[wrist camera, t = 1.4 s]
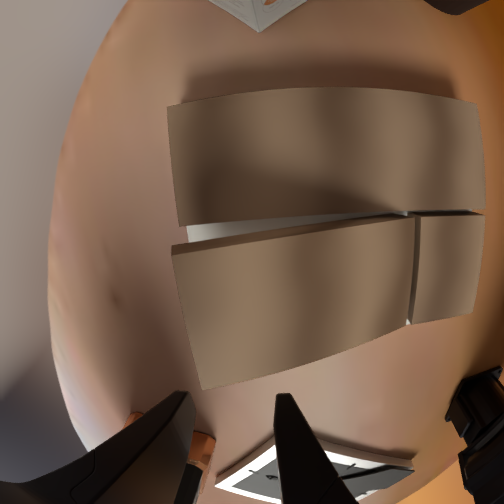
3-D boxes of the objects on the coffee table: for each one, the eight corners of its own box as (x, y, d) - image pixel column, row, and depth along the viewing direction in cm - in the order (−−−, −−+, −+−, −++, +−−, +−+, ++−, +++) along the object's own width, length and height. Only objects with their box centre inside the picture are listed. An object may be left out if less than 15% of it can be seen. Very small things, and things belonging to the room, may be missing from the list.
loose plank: (392, 213, 16) (414, 217, 14) (387, 314, 18) (405, 325, 16) (171, 245, 13) (171, 255, 11) (197, 368, 14) (202, 390, 13)
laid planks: (461, 108, 13) (476, 103, 11) (459, 301, 17) (472, 312, 15) (178, 113, 16) (166, 107, 14) (207, 324, 19) (199, 339, 17)
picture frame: (409, 456, 25) (284, 422, 24) (414, 471, 22) (283, 443, 21) (334, 502, 29) (216, 474, 28) (335, 515, 26) (212, 490, 25)
